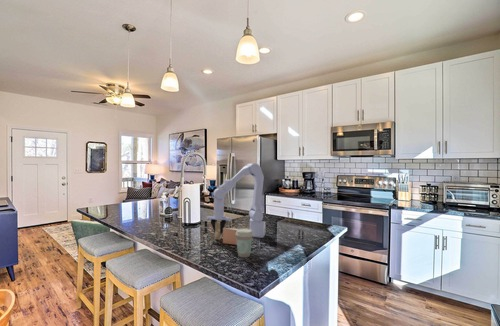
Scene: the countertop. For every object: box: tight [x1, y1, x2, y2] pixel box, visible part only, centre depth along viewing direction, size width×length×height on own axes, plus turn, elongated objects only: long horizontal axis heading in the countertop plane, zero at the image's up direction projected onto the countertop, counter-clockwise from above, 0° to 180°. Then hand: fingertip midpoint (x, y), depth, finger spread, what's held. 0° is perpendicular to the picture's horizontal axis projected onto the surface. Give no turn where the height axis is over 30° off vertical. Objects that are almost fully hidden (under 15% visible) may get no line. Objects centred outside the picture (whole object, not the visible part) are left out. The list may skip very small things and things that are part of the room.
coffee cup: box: [235, 227, 253, 258], centre depth 117 cm, size 9×8×12 cm
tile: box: [222, 227, 238, 246], centre depth 133 cm, size 8×2×8 cm, turn 75°
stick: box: [214, 220, 223, 241], centre depth 141 cm, size 3×3×10 cm
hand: (218, 232), depth 141 cm, fingers closed on stick, 3 cm apart
